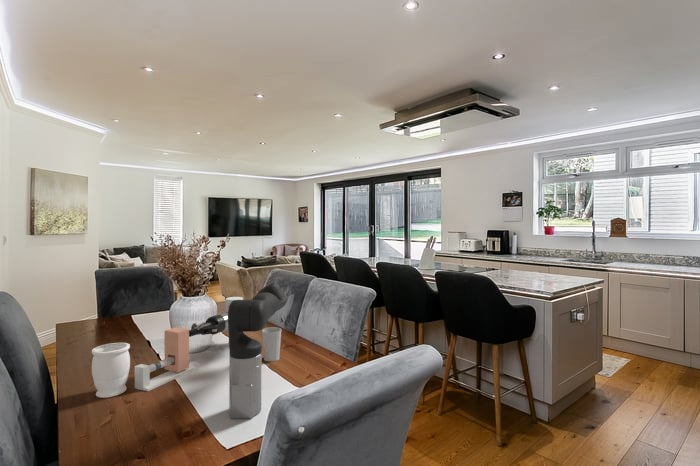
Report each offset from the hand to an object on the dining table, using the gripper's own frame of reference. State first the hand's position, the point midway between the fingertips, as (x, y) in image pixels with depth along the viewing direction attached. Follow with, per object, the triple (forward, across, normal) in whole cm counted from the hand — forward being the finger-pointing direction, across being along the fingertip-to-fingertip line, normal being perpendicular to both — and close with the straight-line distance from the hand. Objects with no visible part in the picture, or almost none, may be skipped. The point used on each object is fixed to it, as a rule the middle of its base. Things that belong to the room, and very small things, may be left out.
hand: (188, 334), depth 143 cm
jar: (+26, -6, +13) cm, 30 cm away
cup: (-21, +24, +13) cm, 35 cm away
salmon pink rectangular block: (+5, 0, +11) cm, 13 cm away
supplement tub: (-56, -24, +13) cm, 63 cm away
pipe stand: (+10, +1, +13) cm, 17 cm away
